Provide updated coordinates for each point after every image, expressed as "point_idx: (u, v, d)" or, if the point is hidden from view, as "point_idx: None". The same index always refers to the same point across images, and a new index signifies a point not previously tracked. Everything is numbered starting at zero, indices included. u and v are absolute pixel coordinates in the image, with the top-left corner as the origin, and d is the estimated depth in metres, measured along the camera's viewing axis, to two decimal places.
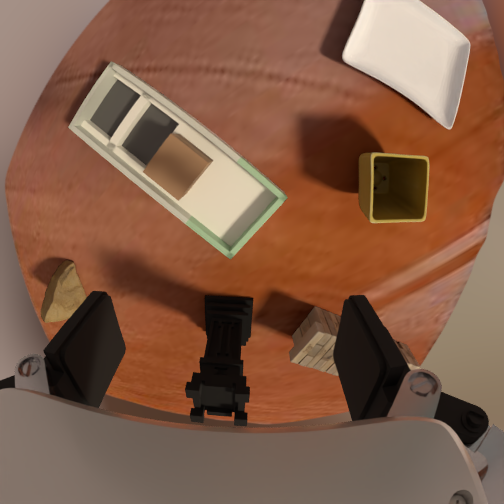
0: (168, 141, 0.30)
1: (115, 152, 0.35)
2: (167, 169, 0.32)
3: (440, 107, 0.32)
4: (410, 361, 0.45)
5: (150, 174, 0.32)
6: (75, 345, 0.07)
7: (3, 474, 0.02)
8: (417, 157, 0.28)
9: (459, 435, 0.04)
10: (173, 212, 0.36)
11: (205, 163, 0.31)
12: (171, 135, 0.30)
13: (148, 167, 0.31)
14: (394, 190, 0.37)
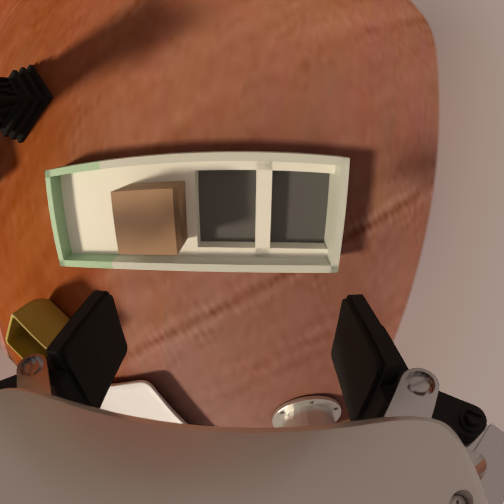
0: (171, 245, 0.24)
1: (251, 161, 0.25)
2: (147, 214, 0.23)
3: None
4: None
5: (160, 193, 0.22)
6: (77, 344, 0.07)
7: (3, 474, 0.02)
8: None
9: (457, 434, 0.04)
10: (118, 161, 0.23)
11: (120, 251, 0.24)
12: (174, 253, 0.24)
13: (169, 199, 0.22)
14: None
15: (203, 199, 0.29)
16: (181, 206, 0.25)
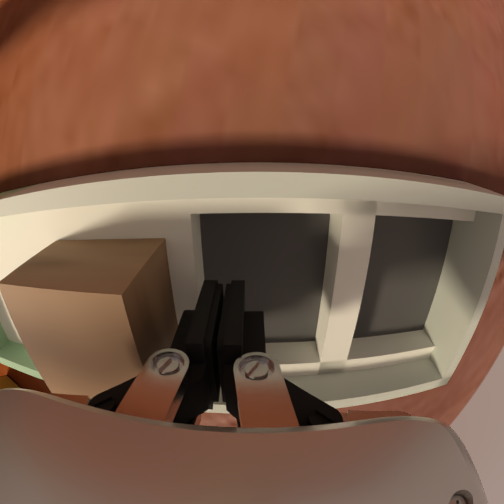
0: None
1: None
2: (76, 344, 0.08)
3: None
4: None
5: (93, 305, 0.07)
6: (214, 333, 0.08)
7: (3, 474, 0.02)
8: None
9: None
10: (19, 200, 0.08)
11: (52, 390, 0.09)
12: None
13: (119, 322, 0.07)
14: None
15: (213, 269, 0.14)
16: (160, 307, 0.10)
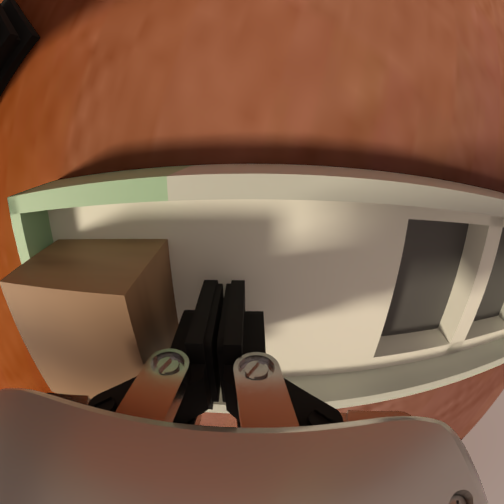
0: None
1: None
2: (78, 343, 0.08)
3: None
4: None
5: (95, 305, 0.07)
6: (214, 333, 0.08)
7: (3, 474, 0.02)
8: None
9: None
10: (238, 180, 0.08)
11: (53, 388, 0.09)
12: None
13: (121, 322, 0.07)
14: None
15: None
16: (161, 308, 0.10)
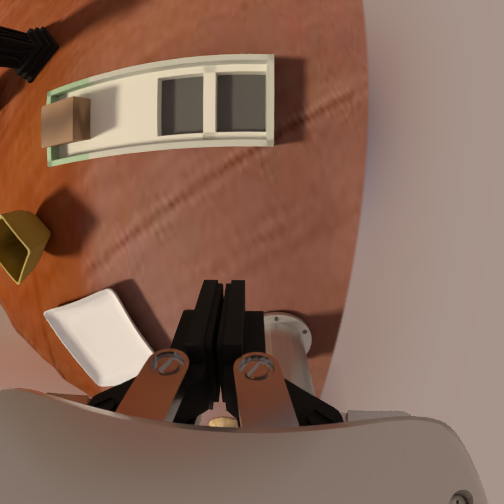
0: (70, 134, 0.27)
1: (199, 67, 0.28)
2: (58, 116, 0.26)
3: (61, 319, 0.45)
4: None
5: (66, 100, 0.25)
6: (214, 333, 0.08)
7: (3, 474, 0.02)
8: (20, 277, 0.32)
9: None
10: (102, 75, 0.26)
11: (42, 146, 0.27)
12: (71, 139, 0.27)
13: (71, 103, 0.25)
14: None
15: (164, 102, 0.31)
16: (83, 112, 0.28)
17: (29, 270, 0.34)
